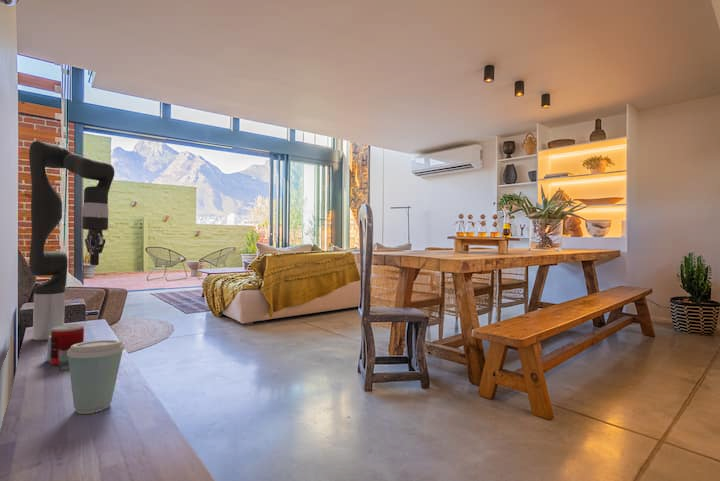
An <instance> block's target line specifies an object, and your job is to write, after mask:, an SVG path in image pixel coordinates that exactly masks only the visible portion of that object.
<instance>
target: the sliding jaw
mask: <svg viewBox="0 0 720 481" xmlns="http://www.w3.org/2000/svg"><path fill="white" fill-rule="evenodd" d="M46 356H47V357H46V358H47V359H46V360H47V361H48V362H49V363H51V336H48V340H47V355H46Z"/></svg>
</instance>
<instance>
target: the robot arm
mask: <svg viewBox="0 0 720 481" xmlns="http://www.w3.org/2000/svg"><path fill="white" fill-rule="evenodd" d="M28 159H29V168H30V179H31V180H30V182H31V186H30V187H31V194H30V195H31V196H30V197H31V198H30V221H31V224H30V225H31V227H30V228H31V234H30V235H31V238H30V248H29V260H28V268H29V271H30V274H31V276H32V275H33V276H34V277H35V276H36V277H40V276H51V278H50V279H48V281H45V282H43V283H40V284H37V285H35V286H34V288H33V310H32V311H33V313H32V314H33V315H32V316H33V318H32V340H34V341H48V336H51V331H52V328H54V327H57V326H62V325H65V310H66V309H65V307H66V306H65V305H66V304H65V303H66V299H65V298H66V286H67V275H68V274H67V273H68V265H69V262H68V261H69V260H68V256H67V253H65V252H64V251H60V250H58V251H56V250H55V251H54V250H53V251H50V250H49V251H47V250H46V251H45V245H46V242H47V239H48V238H49V236H50V234H51V233H52V232H53V230H54V229H56V227H57V226H58V225H59V224H60V222H61V220H62V217H63V201H62V198H61V196H60V195H59V193H58V192H57V190H56V189H55V188H54V187H53V185H52V184H51V182H50V180H49V178H48V175H47V171H46V168H51V169H65V170H67V171H69V172H71V173H73V174H76V175H77V176H79V177H80V178H83V179H87V180H93V181H98V182H97V185H94V186H93V185H92V186H87V187H85V188H84V190H83V207H82V219H81V220H82V224H81V229H83V230H87V232H88V233H87V235H86V238H85V239H84V243H85V247H86V250H87V253H88V254H89V265H90V266H99V265H100V264H99V263H100V254H102V253H103V250H104V248H105V244H106V242H107V241H106V239H105V238H104V234H103V231H108V230H109V191H110V189H111V186H112V182H113V180H114V177H115V168H114V167H113V165H112V164H111V163H110V162H108V161H107V162H106V161H102V160H96V159H93V158H90V157H87V156H84V155H81V154H77V153H73V152H72V151H70V150H68V149H67V148H65V147H63V146H61V145H58V144H54V143H50V142H44V141H39V140H34V141H32V142H31V144H30V146H29V150H28Z"/></svg>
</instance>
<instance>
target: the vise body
mask: <svg viewBox="0 0 720 481" xmlns="http://www.w3.org/2000/svg"><path fill="white" fill-rule="evenodd" d="M69 349H70V347H69V348H63V349H59V366H58V371H59V372H60V373H65V372H70V369H69V361H68V356H67V351H68V350H69Z"/></svg>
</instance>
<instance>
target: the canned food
mask: <svg viewBox="0 0 720 481" xmlns="http://www.w3.org/2000/svg"><path fill="white" fill-rule="evenodd" d="M84 333H85V325H84V324H81V323H80V324H79V323H73V324H72V323H71V324H64V325H62V326H57V327H54V328H52V331H51V362H50V364H51V366H53V367H59V349H63V348H69V347H71V346H72V345H74V344H77V343H82V342H85V341H84V338H85V337H84V336H85V335H84Z"/></svg>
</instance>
